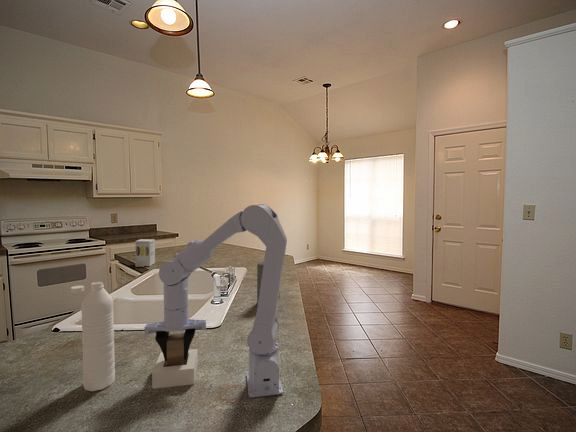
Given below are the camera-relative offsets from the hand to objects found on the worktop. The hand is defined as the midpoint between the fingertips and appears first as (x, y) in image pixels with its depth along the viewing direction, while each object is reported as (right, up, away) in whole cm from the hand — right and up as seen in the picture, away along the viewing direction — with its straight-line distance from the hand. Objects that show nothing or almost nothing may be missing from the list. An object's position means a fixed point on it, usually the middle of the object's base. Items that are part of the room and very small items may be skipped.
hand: (176, 358), depth 76 cm
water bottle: (-18, -5, -4) cm, 19 cm away
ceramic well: (0, -4, 0) cm, 4 cm away
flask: (+20, -1, +57) cm, 60 cm away
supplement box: (-65, +4, +120) cm, 136 cm away
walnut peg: (0, -2, 0) cm, 3 cm away
